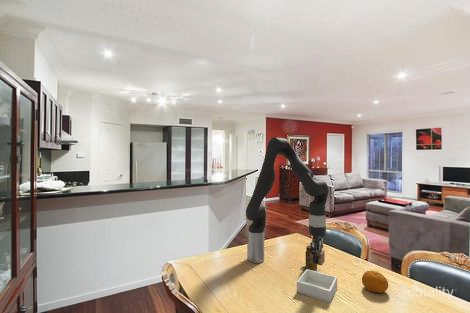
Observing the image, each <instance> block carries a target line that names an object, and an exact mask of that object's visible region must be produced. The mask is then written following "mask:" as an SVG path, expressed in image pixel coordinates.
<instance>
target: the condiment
mask: <svg viewBox="0 0 470 313" xmlns="http://www.w3.org/2000/svg"><path fill="white" fill-rule="evenodd" d="M305 248H306V250H305V266H304V265H303V266H302V267H299V269H300V270H302V271H304V272H305V271H306V269H308V270H312V271H316V272H320V270H321V268H318V265H317V264H313V263H310V252H311V246H310V245H306V247H305Z"/></svg>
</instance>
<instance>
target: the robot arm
mask: <svg viewBox="0 0 470 313" xmlns="http://www.w3.org/2000/svg"><path fill="white" fill-rule="evenodd" d="M278 155H280V156H283V157H284V158H285V159H286V160H288V162H289V165H290V169H291V172H292V173H293V174H294V175H295V177H296V178H297V179H298V180H299V181H300V182H301V186H302V187H303V189H304V191H305V193H306V194H307V195H309V197H310V196H311V198H313V199H312V201H311V200H310V202H309V203H308V234H309V235H310V236H312V239H311V242H310V243H309V246H311V255H313V263H316V264H318V255H319V250H323V249H324V240H325V239H324V238H325V236H326V235H327V220H326V204H327V200H328V196H329V186H328V184H327V182H325V181H324V180H314V179H313V178H314V173H313V171H312V170H311V169H310V168H309V167H308V166H307V165H306V164H305V163H304V162H303V160H302V159H301V158H300V156H299V155H298V153H297V152H296V150H295V149H294V148H293V146H292V145H291V143H290V141H289V140H287V139H286V138H284V137H275V136H274V137H271V138H270V139H269V141H268V142H267V146H266V150H265V153H264V159H263V162H262V166H261V170H260V172H259V175H258V177H257V179H256V180H257V181H256V184H255V186H254V190H253V192H252V195H251V197H250V200H249V202H248V204H247V206H246V209H245V216H246V219H247V220H248V221H252V223H250V224H249V226H248V242H247V243H246V244H247V246H246V247H247V248H246V249H247V250H246V254H247V255H246V256H247V261H249V262H250V263H254V264H260V263H264V262H265V228H266V224H267V222H266V221H267V220H266V219H267V211H266V210H267V209H266V207H265V205H264V204H263V203H262V202H263V200H264V199H265V198H266V197H267V196H268V194H269V193H270V192H271V190H273V186H274V183H275V181H276V170H275V162H276V159H277V156H278ZM314 251H315V252H314Z"/></svg>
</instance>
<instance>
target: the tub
mask: <svg viewBox="0 0 470 313" xmlns="http://www.w3.org/2000/svg"><path fill="white" fill-rule="evenodd" d="M337 290H338V276H334V275H331V274H327V273H323V272H320V271H312V270H308V269H306V271H304V272H303V273H302V274H301V275H300V277H299V278H298V280H297V281H296V293H297V294H300V295H303V296H306V297H310V298H313V299H316V300H319V301H322V302H325V303H328V304H331V303H332V300H333V298H334V296H335V294H336V292H337Z"/></svg>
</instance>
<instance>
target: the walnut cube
mask: <svg viewBox="0 0 470 313" xmlns="http://www.w3.org/2000/svg"><path fill="white" fill-rule="evenodd" d="M314 252H315V251H314ZM325 255H326V254H325V250H323V249H322V250H319V255H318V264H317V266H323V264H324V263H325V262H326V261H325V258H326V256H325ZM310 263H313V255H311V252H310ZM313 264H316V263H313Z"/></svg>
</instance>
